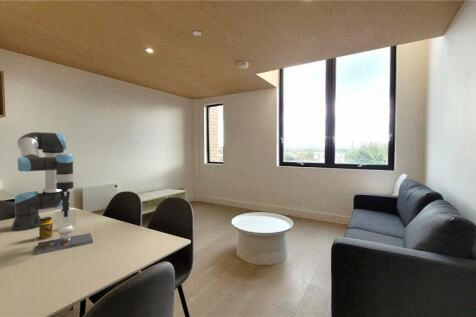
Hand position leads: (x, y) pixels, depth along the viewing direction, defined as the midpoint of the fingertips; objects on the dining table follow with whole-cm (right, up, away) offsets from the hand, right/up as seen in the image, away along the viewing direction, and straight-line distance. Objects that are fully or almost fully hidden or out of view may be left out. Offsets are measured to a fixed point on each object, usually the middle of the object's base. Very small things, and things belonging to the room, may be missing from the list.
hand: (65, 219), depth 126 cm
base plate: (0, -14, 0) cm, 14 cm away
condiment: (-20, -14, +9) cm, 26 cm away
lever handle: (0, -6, 0) cm, 6 cm away
